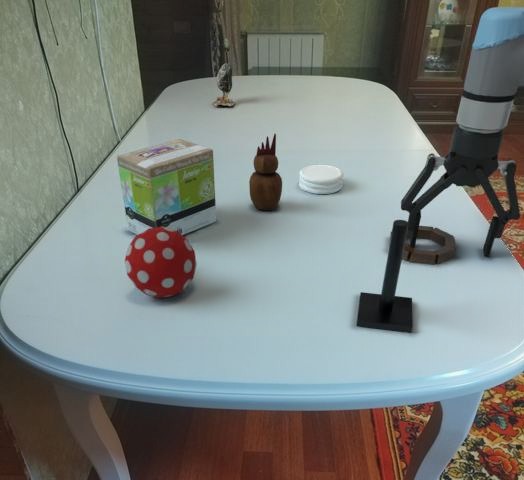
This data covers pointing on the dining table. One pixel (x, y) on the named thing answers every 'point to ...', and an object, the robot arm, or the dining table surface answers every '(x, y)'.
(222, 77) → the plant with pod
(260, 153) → the wooden figurine
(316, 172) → the coaster
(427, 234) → the ring
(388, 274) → the stand
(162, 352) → the dining table surface
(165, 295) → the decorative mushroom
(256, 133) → the dining table surface
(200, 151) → the tea box
